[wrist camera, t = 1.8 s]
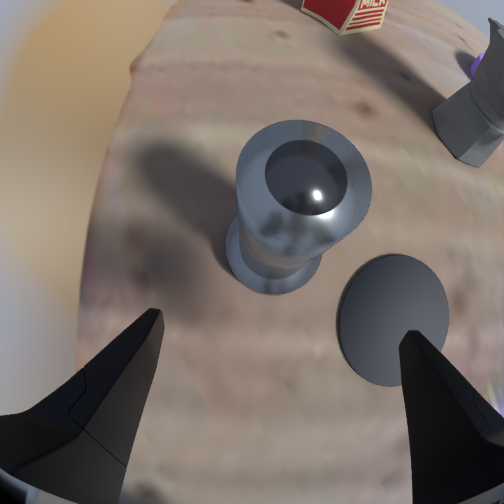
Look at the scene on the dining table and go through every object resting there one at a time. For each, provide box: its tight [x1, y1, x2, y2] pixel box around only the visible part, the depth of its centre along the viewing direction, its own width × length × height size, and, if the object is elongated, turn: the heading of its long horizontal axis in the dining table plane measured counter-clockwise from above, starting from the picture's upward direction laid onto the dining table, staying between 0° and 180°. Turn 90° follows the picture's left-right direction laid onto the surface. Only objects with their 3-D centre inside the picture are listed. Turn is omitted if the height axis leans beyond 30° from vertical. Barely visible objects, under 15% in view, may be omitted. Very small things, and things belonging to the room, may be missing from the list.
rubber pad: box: [339, 255, 449, 387], centre depth 21 cm, size 11×11×1 cm
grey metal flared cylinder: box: [225, 120, 372, 295], centre depth 16 cm, size 7×7×12 cm
